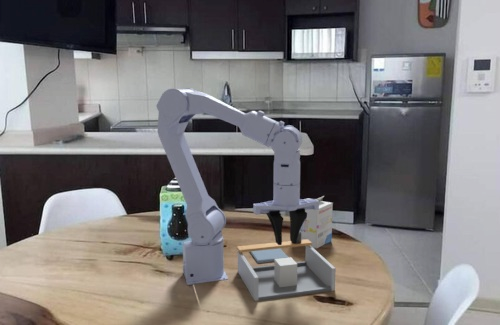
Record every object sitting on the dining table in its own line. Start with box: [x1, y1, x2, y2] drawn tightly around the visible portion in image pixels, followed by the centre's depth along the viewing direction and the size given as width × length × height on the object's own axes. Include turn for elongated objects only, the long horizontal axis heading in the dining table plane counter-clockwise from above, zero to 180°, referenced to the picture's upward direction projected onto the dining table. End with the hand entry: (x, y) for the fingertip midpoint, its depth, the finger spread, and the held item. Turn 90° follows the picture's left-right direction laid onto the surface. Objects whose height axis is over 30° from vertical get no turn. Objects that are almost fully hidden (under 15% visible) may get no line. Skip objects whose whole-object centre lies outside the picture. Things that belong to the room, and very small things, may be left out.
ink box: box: [299, 195, 334, 249], centre depth 125 cm, size 9×8×13 cm
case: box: [237, 245, 337, 302], centre depth 100 cm, size 18×15×6 cm
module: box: [273, 256, 297, 287], centre depth 100 cm, size 4×4×5 cm
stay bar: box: [236, 232, 312, 253], centre depth 106 cm, size 18×2×3 cm, turn 105°
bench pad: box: [249, 248, 289, 264], centre depth 115 cm, size 8×8×1 cm
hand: (285, 242), depth 98 cm, fingers open, 3 cm apart
